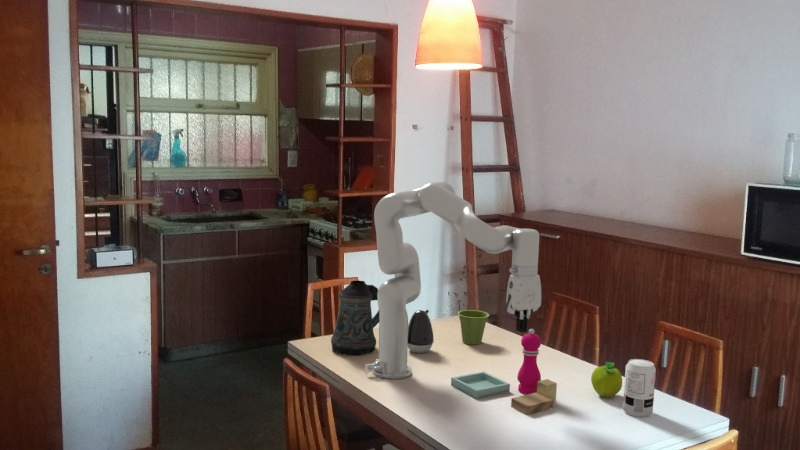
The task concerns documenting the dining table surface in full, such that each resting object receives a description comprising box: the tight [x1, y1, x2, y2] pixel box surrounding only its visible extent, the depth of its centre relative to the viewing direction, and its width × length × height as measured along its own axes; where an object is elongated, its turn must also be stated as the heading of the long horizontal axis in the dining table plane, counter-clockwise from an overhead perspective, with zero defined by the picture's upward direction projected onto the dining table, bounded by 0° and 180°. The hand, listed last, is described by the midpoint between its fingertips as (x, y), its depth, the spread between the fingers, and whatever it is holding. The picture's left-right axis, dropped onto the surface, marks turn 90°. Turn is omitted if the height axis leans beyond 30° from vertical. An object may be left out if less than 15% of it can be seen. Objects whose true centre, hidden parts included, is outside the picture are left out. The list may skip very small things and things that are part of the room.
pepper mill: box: [517, 328, 542, 395], centre depth 222 cm, size 7×7×20 cm
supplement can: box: [622, 358, 657, 418], centre depth 208 cm, size 8×8×15 cm
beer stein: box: [330, 280, 379, 357], centre depth 261 cm, size 16×19×25 cm
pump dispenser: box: [408, 309, 435, 354], centre depth 261 cm, size 10×10×15 cm
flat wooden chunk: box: [510, 392, 554, 416], centre depth 210 cm, size 10×7×3 cm
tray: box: [450, 371, 511, 400], centre depth 225 cm, size 13×13×2 cm
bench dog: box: [537, 378, 558, 404], centre depth 215 cm, size 4×4×6 cm
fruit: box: [590, 361, 623, 398], centre depth 221 cm, size 9×9×10 cm
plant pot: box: [457, 309, 490, 346], centre depth 274 cm, size 12×12×11 cm
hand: (521, 331), depth 214 cm, fingers closed
